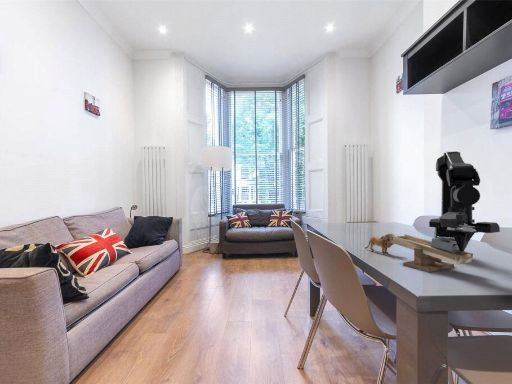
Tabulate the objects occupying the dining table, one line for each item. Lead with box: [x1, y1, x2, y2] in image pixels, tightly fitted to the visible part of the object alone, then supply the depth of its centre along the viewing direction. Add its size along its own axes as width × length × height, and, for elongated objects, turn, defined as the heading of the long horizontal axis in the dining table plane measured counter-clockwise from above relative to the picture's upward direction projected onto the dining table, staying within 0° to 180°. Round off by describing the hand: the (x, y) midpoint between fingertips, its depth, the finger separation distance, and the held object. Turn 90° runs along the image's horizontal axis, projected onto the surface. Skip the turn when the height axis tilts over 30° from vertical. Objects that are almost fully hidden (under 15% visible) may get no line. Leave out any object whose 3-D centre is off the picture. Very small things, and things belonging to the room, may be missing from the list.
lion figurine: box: [364, 233, 396, 255], centre depth 129 cm, size 15×5×9 cm, turn 35°
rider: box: [431, 236, 460, 256], centre depth 100 cm, size 5×7×4 cm
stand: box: [402, 248, 455, 273], centre depth 106 cm, size 14×10×7 cm
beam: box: [391, 233, 474, 265], centre depth 106 cm, size 8×25×3 cm, turn 25°
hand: (461, 251), depth 95 cm, fingers closed
